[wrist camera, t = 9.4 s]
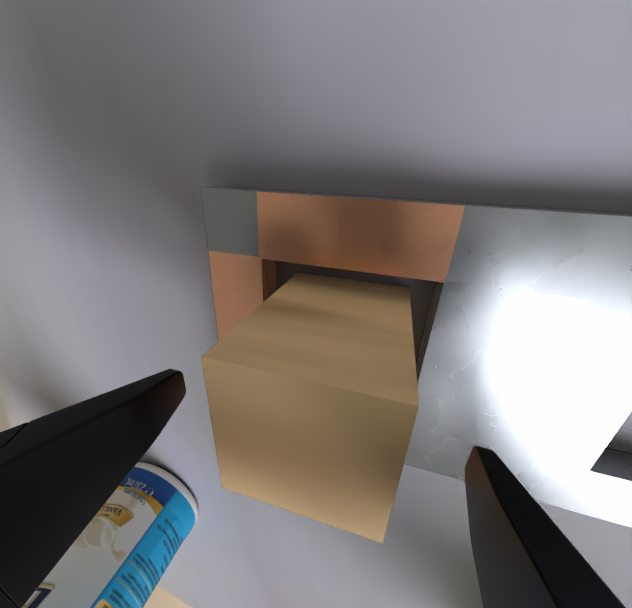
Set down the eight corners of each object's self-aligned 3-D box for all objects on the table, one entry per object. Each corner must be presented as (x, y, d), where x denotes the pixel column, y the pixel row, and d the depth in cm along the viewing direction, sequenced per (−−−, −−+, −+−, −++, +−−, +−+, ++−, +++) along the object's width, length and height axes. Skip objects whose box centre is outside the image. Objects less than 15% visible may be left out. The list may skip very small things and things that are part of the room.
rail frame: (817, 546, 11) (882, 602, 10) (240, 396, 17) (225, 416, 16) (1255, 255, 6) (1534, 278, 5) (222, 186, 12) (197, 187, 11)
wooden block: (390, 380, 14) (382, 543, 8) (296, 360, 15) (221, 487, 9) (409, 287, 12) (419, 406, 5) (297, 272, 13) (200, 356, 7)
